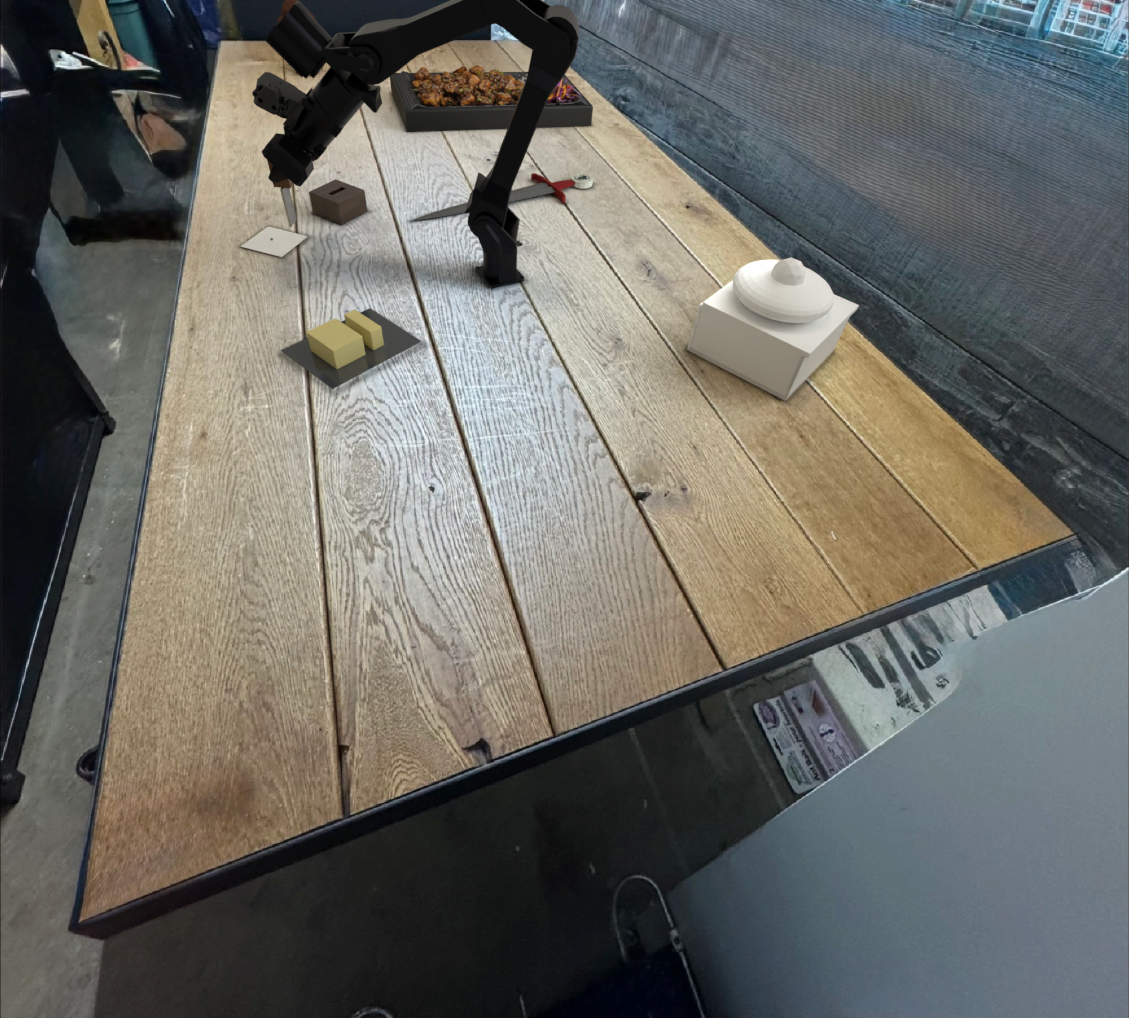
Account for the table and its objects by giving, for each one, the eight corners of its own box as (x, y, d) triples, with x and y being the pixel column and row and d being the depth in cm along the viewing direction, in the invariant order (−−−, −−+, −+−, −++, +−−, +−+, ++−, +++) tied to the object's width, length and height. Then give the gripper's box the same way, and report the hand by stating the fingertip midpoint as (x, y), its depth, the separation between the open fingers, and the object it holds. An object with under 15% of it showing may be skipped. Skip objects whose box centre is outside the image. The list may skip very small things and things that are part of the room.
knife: (303, 219, 108) (287, 148, 99) (298, 227, 106) (281, 156, 97) (287, 218, 108) (270, 146, 99) (282, 226, 106) (264, 154, 97)
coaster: (308, 236, 116) (307, 232, 115) (281, 257, 111) (280, 252, 110) (268, 226, 117) (267, 222, 116) (240, 246, 112) (239, 242, 111)
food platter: (561, 90, 176) (564, 44, 168) (591, 125, 161) (596, 77, 153) (391, 93, 164) (386, 44, 156) (407, 131, 149) (402, 80, 142)
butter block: (339, 336, 97) (335, 318, 94) (365, 354, 94) (362, 335, 92) (310, 350, 94) (305, 331, 92) (337, 369, 92) (332, 350, 89)
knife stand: (367, 211, 124) (364, 189, 121) (341, 225, 120) (337, 203, 116) (339, 200, 126) (335, 178, 123) (312, 213, 121) (308, 191, 118)
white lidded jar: (740, 307, 112) (769, 216, 100) (836, 352, 106) (880, 261, 94) (686, 350, 103) (711, 255, 91) (788, 403, 96) (830, 308, 84)
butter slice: (358, 327, 98) (354, 309, 96) (384, 345, 96) (381, 326, 94) (347, 332, 97) (343, 314, 95) (373, 350, 95) (370, 331, 93)
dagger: (394, 194, 129) (393, 186, 128) (583, 175, 142) (583, 167, 141) (409, 222, 122) (408, 213, 121) (606, 199, 135) (607, 191, 134)
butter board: (370, 312, 103) (369, 307, 102) (422, 345, 98) (421, 341, 98) (281, 354, 94) (280, 350, 93) (333, 393, 90) (332, 388, 89)
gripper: (301, 34, 95) (246, 111, 103) (258, 76, 83) (199, 160, 91) (364, 100, 101) (308, 168, 109) (332, 148, 89) (272, 220, 97)
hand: (273, 177), depth 101 cm, fingers closed on knife, 2 cm apart
